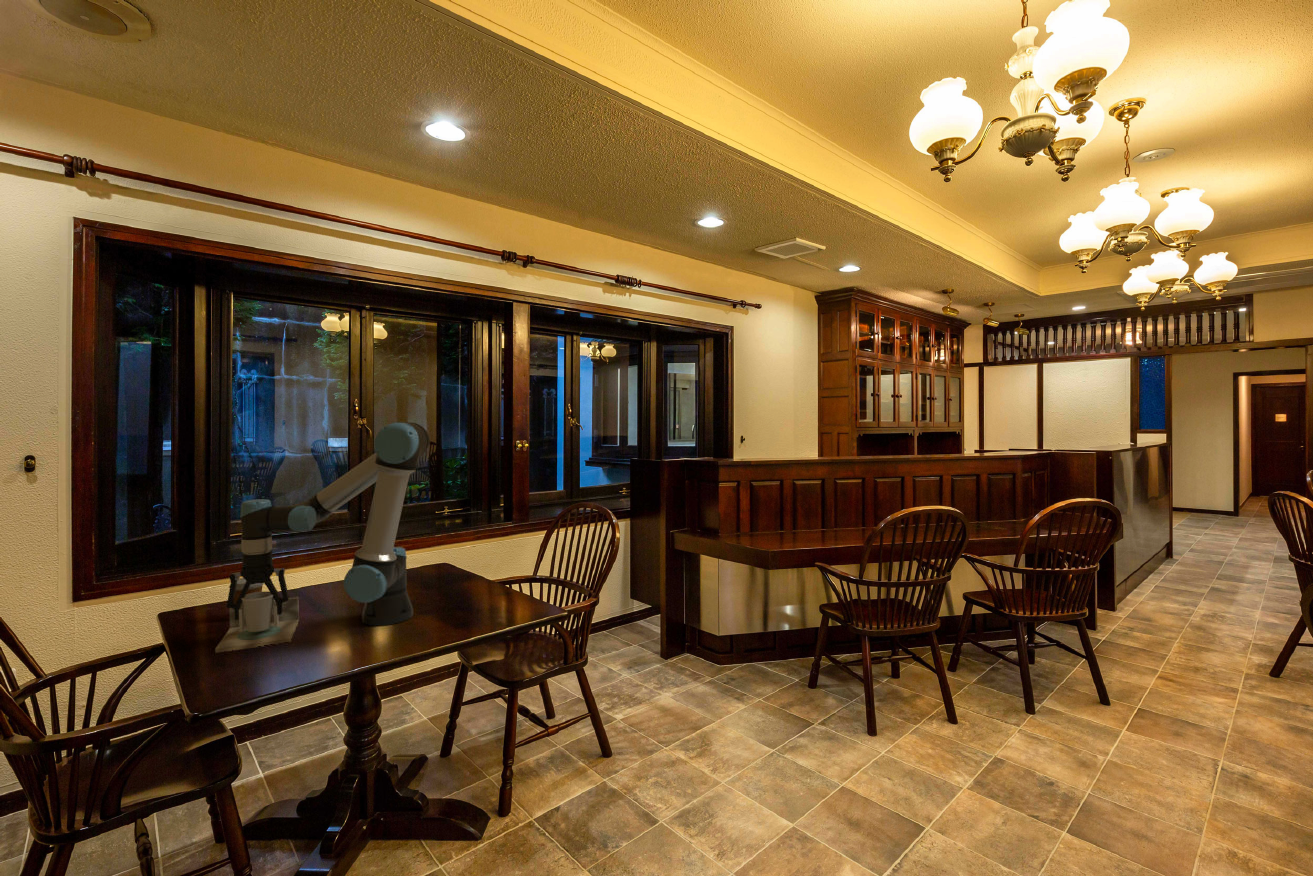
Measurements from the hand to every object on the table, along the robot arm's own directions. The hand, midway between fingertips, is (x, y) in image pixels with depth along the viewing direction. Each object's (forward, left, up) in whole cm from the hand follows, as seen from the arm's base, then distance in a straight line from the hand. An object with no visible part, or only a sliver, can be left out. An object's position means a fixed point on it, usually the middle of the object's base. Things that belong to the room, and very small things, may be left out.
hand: (259, 627), depth 179 cm
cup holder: (0, 0, -3) cm, 3 cm away
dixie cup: (0, 0, 0) cm, 0 cm away
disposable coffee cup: (+7, -24, -3) cm, 25 cm away
